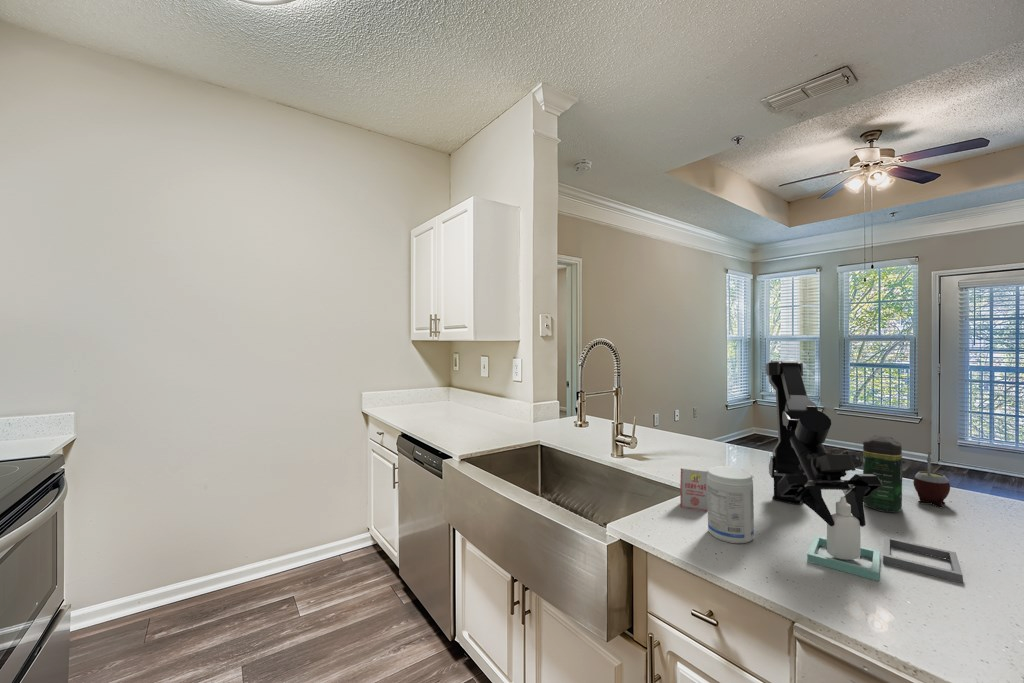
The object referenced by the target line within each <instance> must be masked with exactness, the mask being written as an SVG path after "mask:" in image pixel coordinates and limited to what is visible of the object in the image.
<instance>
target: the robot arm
mask: <svg viewBox="0 0 1024 683" xmlns="http://www.w3.org/2000/svg"><path fill="white" fill-rule="evenodd" d="M803 364H804V363H803V362H800V361H798V360H795V359H770V362H767V363H766V365H765V375H766V376H768V383H769V384H770V386H771V387H772V388H773V389H774V391H775V401H776V402H775V403H776V421H777V424H776V425H777V436H778V441H777V443H776V445H775V446H774V448H772V455H770V459H769V463H768V474H769V476H770V478H771V479H773V495H772V500H775V501H779V502H784V503H788V504H793V505H797V506H798V505H801V503H803V504H804V505H805V506H807V507H808V508H809V509H811V511H813V512H814V513H815V514H817V516H818V517H820V518H821V519H822V520H823V521H824V522H825V523H826V525H827V524H829V525H830V526H834V525H835V523H834V521H833V518H832V516H831V515H832V514H831V512H830V509H829V508H828V505H827V504H826V502H825V500H824V498H823V495H822V491H823V490H825V491H826V490H828V491H829V490H831V491H832V490H839V491H842V492H843V495H844V496H843V497H845V498H846V502H847V503H848V504H850V505H851V516H854V517H855V518H857V519H858V520H859V521H860V528H862V527H866V525H867V524H866V517H865V510H864V509H865V508H864V502H863V497H869V496H871V495H872V494H873V493H875V492H876V491H877V490H878V489H880V488H881V487H882V486H883V484H882V483H881V481H880V479H879V478H878V477H877V476H875V475H873V474H863V473H856V474H854V475H853V476H852V477H851V478H850V479H848V480H847V479H842V478H844V477H846V476H847V472H848V471H849V472H850V471H853V472H855V471H856V468H860V467H862V466H863V461H862V459H861V457H860V455H859V454H858V452H857V451H856V450H846V451H843V452H842V453H840V454H839V453H832V452H830V453H829V452H827V449H826V448H825V446H824V443H825V442H826V439H827V436H828V434H829V432H830V429H831V426H832V419H831V418H830V417H829V416H828V415H827V414H825V413H824V412H823V411H819V409H818V407H817V406H818V405H817V404H816V403H815V402H814V401H812V400H811V399H809V396H808V395H807V391H806V387H805V384H804V380H803V376H804V366H803Z"/></svg>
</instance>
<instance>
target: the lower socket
mask: <svg viewBox="0 0 1024 683" xmlns="http://www.w3.org/2000/svg"><path fill="white" fill-rule="evenodd" d="M820 546H823V547H826V548H827V537H824V536H821V535H816V534H814V535H813V538H812V540H811V544H810V546H809V548H808V551H807V553H806V555H807V558H806V559H807V561H806V562H808V563H812V564H815V565H820V566H822V567H825V568H830V569H834V570H837V571H840V572H844V573H849V574H852V575H854V576H858V577H862V578H865V579H869V580H872V581H876V582H879V581H880V566H881V564H880V563H881V551H880V550H878V549H874V548H869V547H866V546H862V545H860V549H861V555H862V556H861V555H860V556H861V557H865V556H866V557H867V558H869V557H870V558H871V559H872V564H871V568H869V567H865V566H861V565H858V564H854V563H850V562H846V561H842V560H840V559H837V558H833V557H828V556H824V555H820V554H817V553H818V550H819V547H820ZM866 557H865V558H866Z"/></svg>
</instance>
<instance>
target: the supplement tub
mask: <svg viewBox="0 0 1024 683" xmlns="http://www.w3.org/2000/svg"><path fill="white" fill-rule="evenodd" d="M707 471H708V475H707V502H708V511H707V529H708V532H709V534H710V535H711V536H713V537H715V538H716V539H717V540H720V541H723V542H726V543H730V544H731V543H732V544H747V543H749V542H751V541H752V540H753V539H754V537H755V520H754V519H755V518H754V517H755V514H754V513H755V512H754V507H755V506H754V480H753V474H752V473H751V472H750V471H748V470H745V469H743V468H740V467H734V466H725V465H721V466H720V465H719V466H711V467H709V468H708V469H707Z"/></svg>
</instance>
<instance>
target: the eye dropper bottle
mask: <svg viewBox="0 0 1024 683" xmlns="http://www.w3.org/2000/svg"><path fill="white" fill-rule="evenodd" d="M831 516H832V518H833V521H834V523H835V525H834V526H830V525H829V524H827V523H826V538H827V547H826V552H827V554H828V555H830V556H831V557H832V558H834V559H837V560H848V561H849V560H857V559H859V558H861V549H860V546H861V526H860V521H859V520H858V519H857V518H855V517H854V516H853V515H852V514H851V505H850V504H848V503H847V502H846V498H845V497H844V496H840V500H839V501H836V502H835V513H832V514H831Z"/></svg>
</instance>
